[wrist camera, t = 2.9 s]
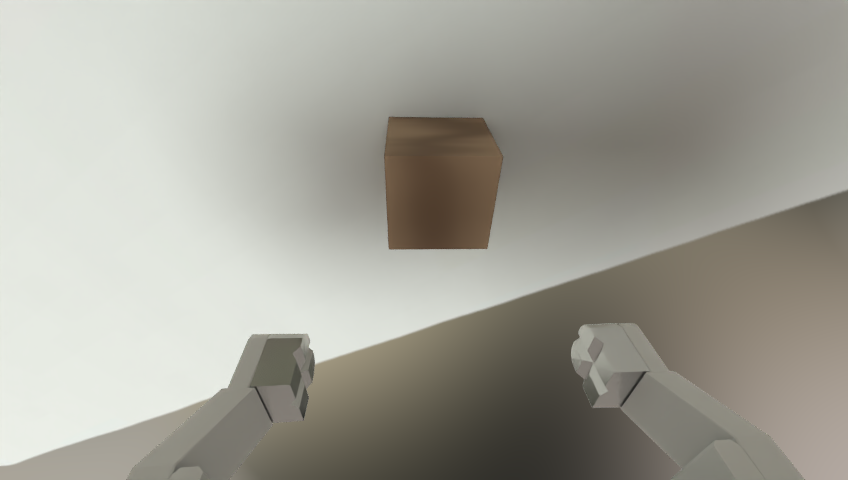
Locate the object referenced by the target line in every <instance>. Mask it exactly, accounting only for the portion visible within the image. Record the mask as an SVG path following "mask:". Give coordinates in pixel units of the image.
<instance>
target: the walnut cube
mask: <svg viewBox="0 0 848 480" xmlns="http://www.w3.org/2000/svg"><path fill="white" fill-rule="evenodd" d="M384 159H385V180H386V201H387V222H388V243H389V249H487V247H488V241H489V236H490V230H491V224H492V218H493V212H494V207H495V201H496V195H497V189H498V183H499V178H500V172H501V166H502V160H503V155H502V153H501V152H500V150H499V148H498V146H497V144H496V142H495V140H494V138H493V136H492V135H491V133H490V131H489V129H488V127H487V125H486V123H485V121H484V119H483V118H427V117H389V121H388V129H387V138H386V146H385V154H384Z"/></svg>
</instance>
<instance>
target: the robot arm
mask: <svg viewBox="0 0 848 480" xmlns="http://www.w3.org/2000/svg"><path fill="white" fill-rule="evenodd" d="M578 333H579V335H580V338H579V339H578V340H576V341H575V342H574V343H573V346H572V348H571V358H572V362H573V365H574V368H575V370H576V373H578V374H579V375H580V376H582V378H584V383H583V388H584V391H585V393H586V395H587V397H588V399H589V402H590V404H591V406H592V408H614V407H621V410H622V411H623V412H624V413H625V414H626V415H627V416H628V417H629V418H630V419H631V420H632V421H633V422H634V423H635V424H637V426H639V427H640V428H641V429H642V430H643V431H644V432H645V433H646V434H647V435H648V436H649V437H650V438H651V439H652V440H653V441H654V442H655V443H656V444H657V445H658V446H659V447H660V448H661V449H662V450H663V451H664V452H665V453H666V454H667V455H668V456H669V457H671V458H672V460H673V461H674V462H676V463H677V464H678V465H679V466H680V467H681V468H682V469H681V470H680V471H679V472H678V473H677V474H676V475H675V476H673V477H672V478H671V480H805V479H804V478H803V477H802V475H801V474H800V473H799V472H798V470H797V469H796V468H795V467H794V465H793V464H792V463H791V462H790V460H789V459H788V458H787V457H786V455H785V454H784V453H783V452H782V450H781V449H780V448H779V447H778V445H777V444H776V443H775V442H774V441H773V439H772V438H771V437H770V436H769V435H767V434H766V433H764V432H763V431H762V430H760V429H758V428H757V427H756V426H754V425H753V424H751V423H750V422H748V421H747V420H745V419H744V418H742V417H741V416H740V415H738V414H736V413H735V412H734V411H732V410H731V409H729V408H728V407H726V406H725V405H723V404H722V403H720V402H719V401H717V400H716V399H714V398H713V397H712V396H710V395H708V394H707V393H706V392H704V391H703V390H701V389H700V388H698V387H697V386H695V385H694V384H692V383H691V382H689V381H688V380H687V379H685V378H684V377H682V376H681V375H679V374H678V373H676V372H675V371H669V370H668V369H667V367H666V366H665V364H664V363H663V361H662V360H661V359H660V357H659V356H658V354H657V353H656V351H655V350H654V348H653V347H652V345H651V344H650V343H649V341H648V340H647V338H646V337H645V335H644V334H643V333H642V331H641V330H640V328H639V327H638V326H637V325H636V324H634V323H622V324H615V323H611V324H590V325H583V326H582V327H581V328H580V330H579V332H578ZM309 343H310V339H309V336H308V334H253V335H252V336H251V337H250V338H249V339H248V341H247V344H246V346H245V348H244V351H243V353H242V355H241V358H240V360H239V363H238V365H237V367H236V370H235V372H234V374H233V377H232V379H231V381H230V384H229V386H228V388H225V389H221V390H220V391H219V392H218V393H217V394H215V395H214V396H213V397H212V398H211V399H210V400H209V401H208V402H206V403H205V404H204V405H203V406H202V407H201V408H200V409H199V410H197V411H196V412H195V413H194V414H193V415H192V416H191V417H190V418H188V419H187V420H186V421H185V422H184V423H183V424H182V425H181V426H179V427H178V428H177V429H176V430H175V431H174V432H173V433H172V434H171V435H169V436H168V437H167V438H166V439H165V440H164V441H163V442H162V443H161V444H159V445H158V446H157V447H156V448H155V449H154V450H152V451H151V452H150V453H149V454H148V455H147V456H146V457H145V458H143V459H142V460H141V461H140V462H139V463H138V464H137V465H135V466H134V467H133V469H132V470H131V472H130V474H129V476H128V478H127V479H126V480H230V478H231V477H232V476H233V474H234V473H235V472H236V471H237V469H238V468H239V467H240V466H241V464H242V463H243V462H244V461H245V459H246V458H247V457H248V456H249V454H250V453H251V452H252V450H253V449H254V448H255V447H256V445H257V444H258V443H259V441H260V440H261V439H262V438H263V437H264V435H265V434H266V433H267V431H268V430H269V429H270V428H271V426H272V425H273V424H272V423H278V422H291V421H304V417H305V412H306V408H307V404H308V399H309V396H308V394H307V390H306V389H307V388H308V386H309V385H310V384H311V383H312V380H313V376H314V366H315V360H314V354H313V350H311V349H310V348H309Z"/></svg>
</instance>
